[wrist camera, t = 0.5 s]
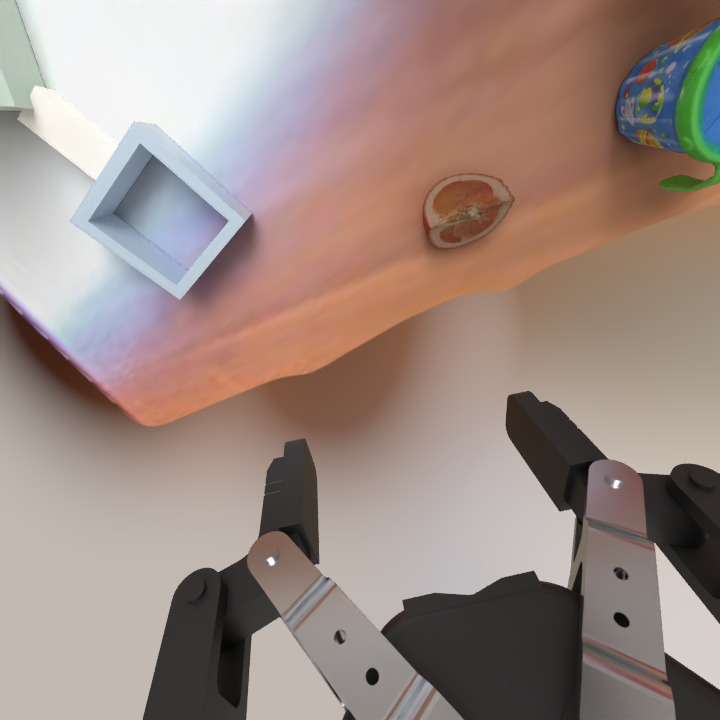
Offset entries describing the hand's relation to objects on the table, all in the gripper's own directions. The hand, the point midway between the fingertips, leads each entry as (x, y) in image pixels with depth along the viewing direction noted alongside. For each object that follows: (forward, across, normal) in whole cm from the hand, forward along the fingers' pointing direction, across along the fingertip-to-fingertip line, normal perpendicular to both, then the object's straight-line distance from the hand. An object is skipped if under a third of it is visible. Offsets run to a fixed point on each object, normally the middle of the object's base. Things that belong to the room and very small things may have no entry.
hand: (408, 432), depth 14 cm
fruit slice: (+28, -12, -2) cm, 31 cm away
